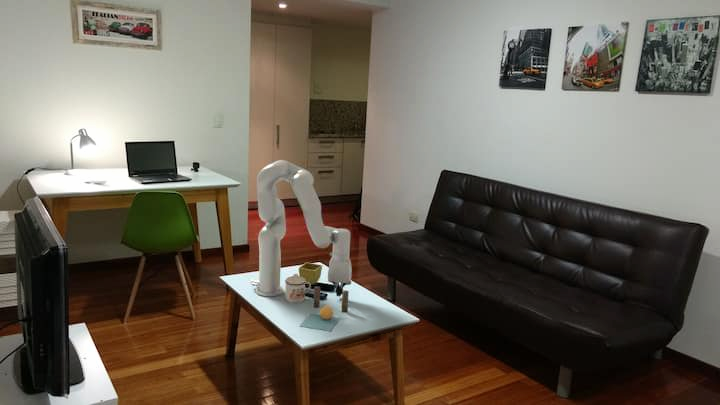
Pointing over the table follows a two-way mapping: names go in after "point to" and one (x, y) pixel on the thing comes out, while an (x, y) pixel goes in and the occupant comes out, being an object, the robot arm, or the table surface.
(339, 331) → the table surface
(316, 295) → the left post
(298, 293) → the teacup with lid
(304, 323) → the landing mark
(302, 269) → the flower pot
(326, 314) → the ball
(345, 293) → the right post
